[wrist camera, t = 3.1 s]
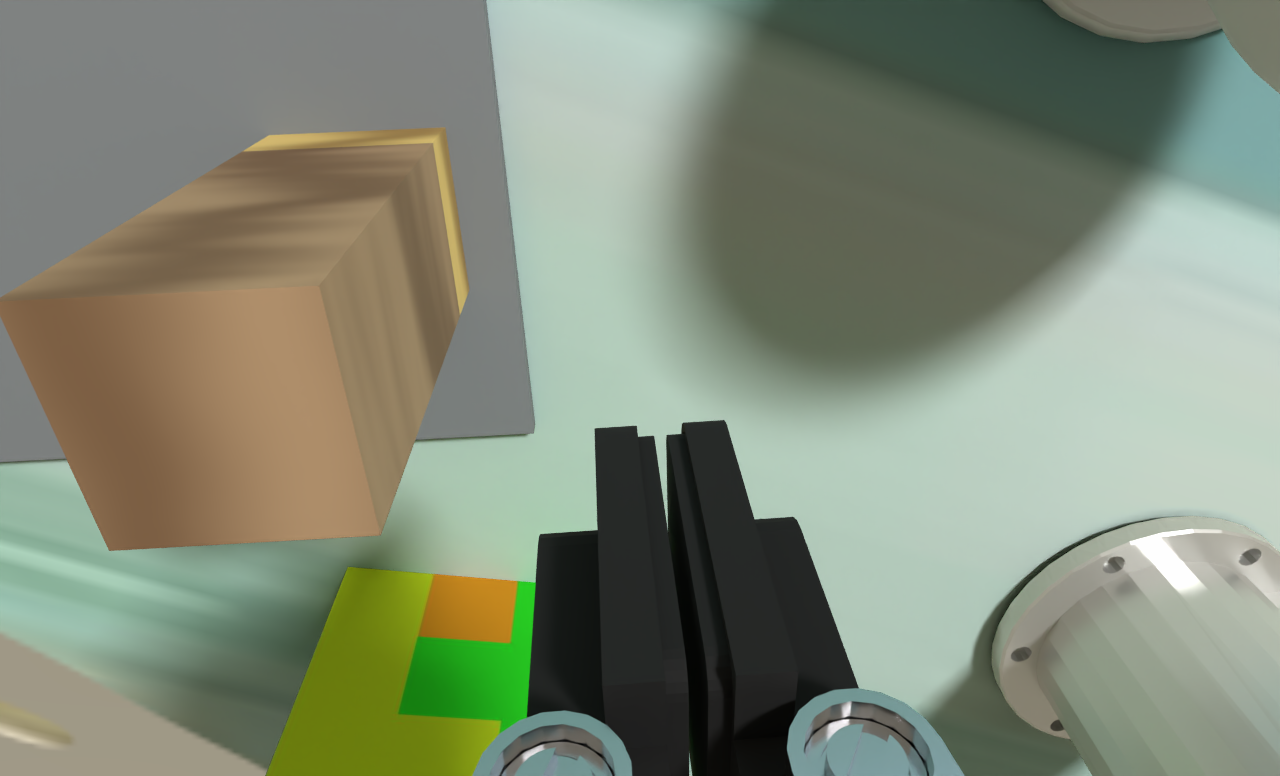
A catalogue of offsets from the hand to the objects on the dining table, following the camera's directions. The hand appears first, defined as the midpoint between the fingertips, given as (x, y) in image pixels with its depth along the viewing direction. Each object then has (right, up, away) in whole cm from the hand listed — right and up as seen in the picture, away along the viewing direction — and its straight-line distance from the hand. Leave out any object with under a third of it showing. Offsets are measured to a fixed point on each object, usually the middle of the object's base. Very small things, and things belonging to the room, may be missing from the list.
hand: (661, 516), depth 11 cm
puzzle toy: (-8, -10, +24) cm, 27 cm away
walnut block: (-8, +7, +14) cm, 17 cm away
